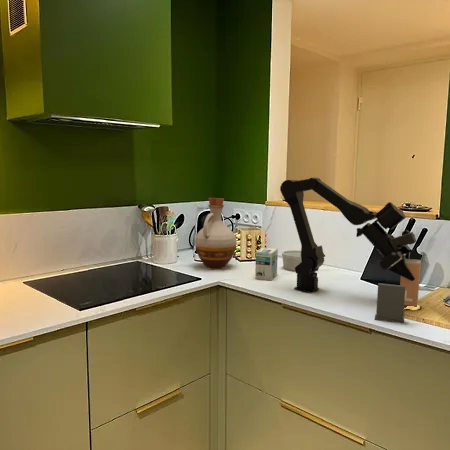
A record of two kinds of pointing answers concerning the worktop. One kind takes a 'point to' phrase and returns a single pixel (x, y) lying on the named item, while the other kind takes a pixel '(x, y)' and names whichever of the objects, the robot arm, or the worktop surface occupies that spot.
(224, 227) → the jug
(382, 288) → the screen
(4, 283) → the worktop surface
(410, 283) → the tin
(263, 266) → the light bulb box
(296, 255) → the ramekin
